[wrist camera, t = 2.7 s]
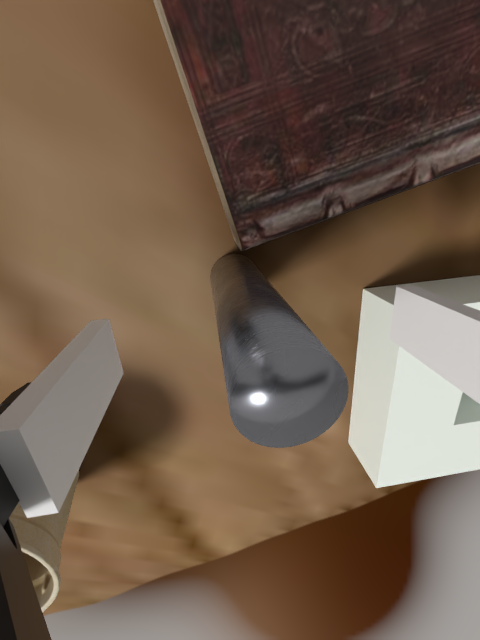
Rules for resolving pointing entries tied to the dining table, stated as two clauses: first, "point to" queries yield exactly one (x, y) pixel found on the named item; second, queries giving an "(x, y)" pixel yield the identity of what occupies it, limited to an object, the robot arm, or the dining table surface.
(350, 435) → the bore block
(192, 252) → the dining table surface
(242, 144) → the hardback book
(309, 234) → the dining table surface
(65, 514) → the flower pot
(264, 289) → the pin
